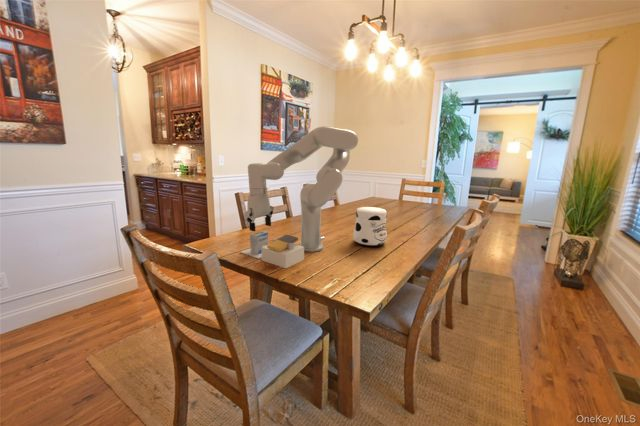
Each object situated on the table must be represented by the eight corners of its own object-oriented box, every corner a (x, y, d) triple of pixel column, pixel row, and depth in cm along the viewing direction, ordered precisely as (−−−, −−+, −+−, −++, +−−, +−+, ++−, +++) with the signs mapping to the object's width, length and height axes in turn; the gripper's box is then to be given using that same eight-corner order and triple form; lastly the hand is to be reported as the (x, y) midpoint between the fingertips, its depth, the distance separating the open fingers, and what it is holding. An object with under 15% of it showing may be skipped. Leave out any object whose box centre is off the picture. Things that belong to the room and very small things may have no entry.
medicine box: (258, 254, 127) (257, 236, 125) (250, 252, 129) (249, 234, 127) (268, 249, 134) (268, 232, 132) (261, 247, 136) (260, 230, 134)
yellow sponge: (286, 238, 129) (285, 234, 128) (298, 241, 125) (297, 237, 124) (267, 249, 120) (267, 245, 119) (279, 253, 116) (279, 249, 115)
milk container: (386, 250, 138) (389, 215, 134) (351, 247, 142) (353, 212, 138) (385, 239, 155) (388, 207, 151) (354, 236, 158) (355, 205, 154)
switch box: (280, 252, 132) (280, 234, 130) (304, 259, 124) (304, 241, 122) (261, 260, 123) (261, 241, 121) (285, 268, 115) (285, 248, 113)
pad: (260, 245, 140) (259, 244, 140) (277, 251, 133) (277, 250, 133) (240, 252, 130) (240, 251, 130) (258, 259, 124) (258, 258, 124)
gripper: (266, 188, 134) (268, 222, 138) (237, 193, 121) (240, 231, 125) (277, 189, 130) (279, 224, 134) (248, 195, 116) (251, 234, 121)
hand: (260, 228), depth 129 cm, fingers open, 9 cm apart
